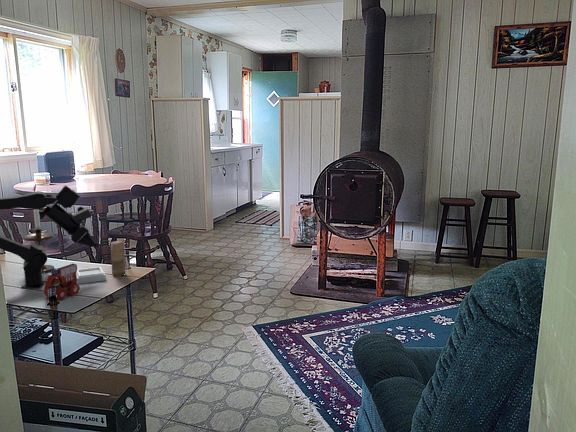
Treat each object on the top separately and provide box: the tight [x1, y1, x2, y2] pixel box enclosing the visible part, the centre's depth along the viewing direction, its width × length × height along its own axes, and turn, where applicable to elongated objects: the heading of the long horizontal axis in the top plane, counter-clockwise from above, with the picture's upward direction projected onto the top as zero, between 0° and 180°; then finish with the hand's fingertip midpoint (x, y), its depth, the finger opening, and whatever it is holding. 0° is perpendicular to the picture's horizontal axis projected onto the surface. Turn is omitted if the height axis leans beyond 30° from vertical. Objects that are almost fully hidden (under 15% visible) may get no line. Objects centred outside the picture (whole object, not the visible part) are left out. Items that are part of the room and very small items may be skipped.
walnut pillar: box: [110, 240, 127, 277], centre depth 184 cm, size 5×5×13 cm
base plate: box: [76, 266, 107, 285], centre depth 180 cm, size 10×10×3 cm
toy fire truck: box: [43, 263, 81, 301], centre depth 160 cm, size 7×12×10 cm, turn 153°
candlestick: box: [22, 183, 55, 274], centre depth 185 cm, size 11×11×35 cm
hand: (95, 243), depth 178 cm, fingers open, 9 cm apart
